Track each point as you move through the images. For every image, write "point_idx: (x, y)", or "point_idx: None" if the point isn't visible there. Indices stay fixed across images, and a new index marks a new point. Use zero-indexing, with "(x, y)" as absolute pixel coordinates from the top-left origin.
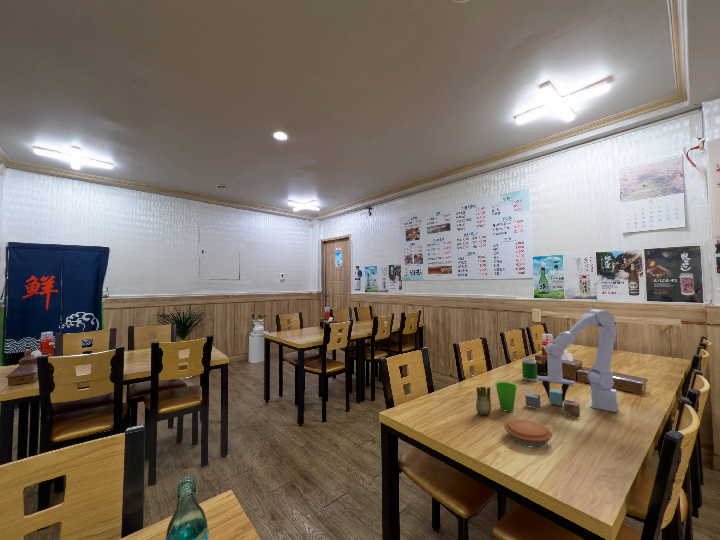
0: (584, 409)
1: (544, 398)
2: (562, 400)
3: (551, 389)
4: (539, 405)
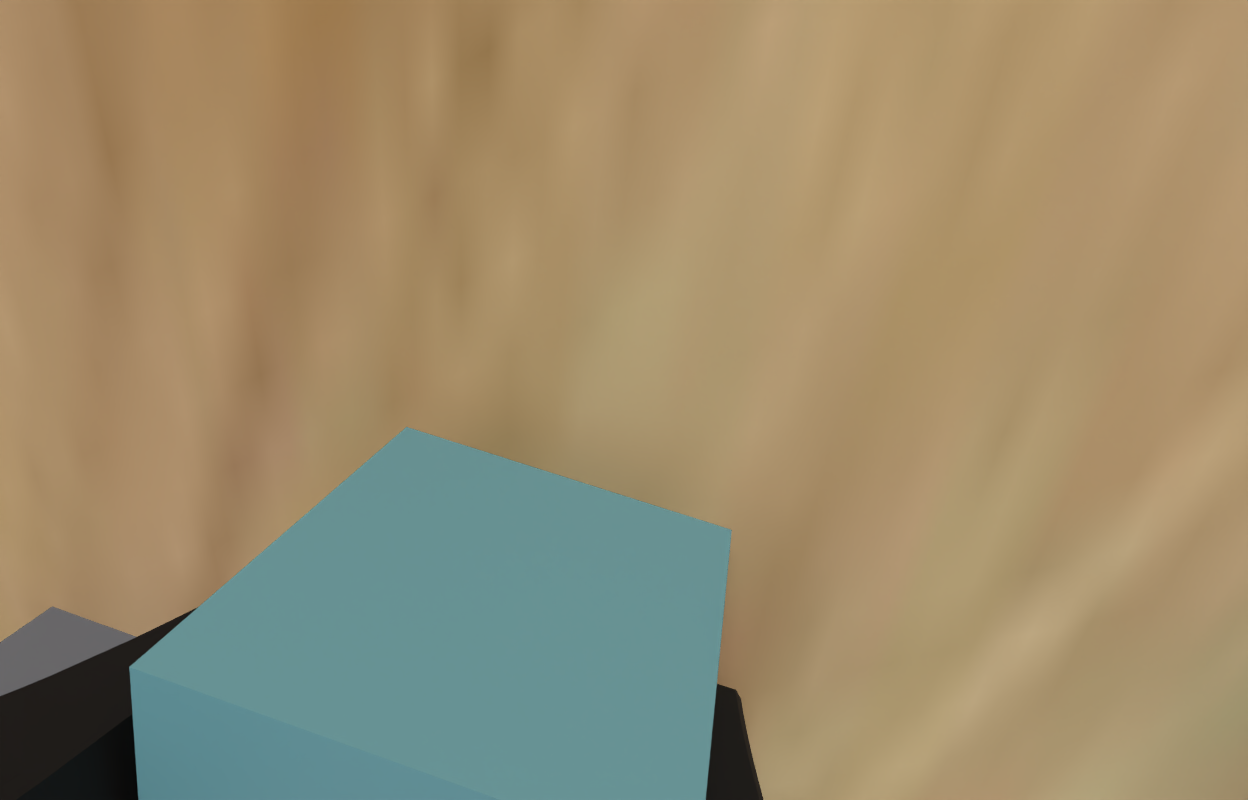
0: (1209, 674)
1: (252, 95)
2: None
3: (177, 748)
4: None
